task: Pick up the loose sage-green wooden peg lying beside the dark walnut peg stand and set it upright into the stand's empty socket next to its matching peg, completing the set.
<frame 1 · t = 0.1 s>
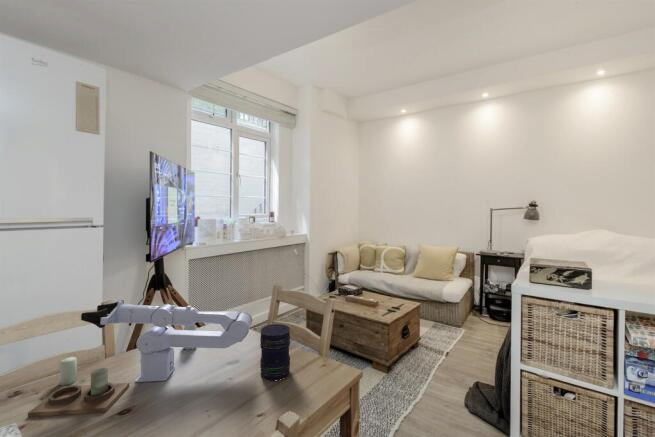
hand: (90, 312, 98), 22 cm above the table, tool horizontal, fingers open, 7 cm apart
peg stand: (82, 400, 87), on the table
salt shaker: (189, 348, 121), on the table
storage jar: (275, 374, 102), on the table
loose peg: (68, 381, 97), on the table
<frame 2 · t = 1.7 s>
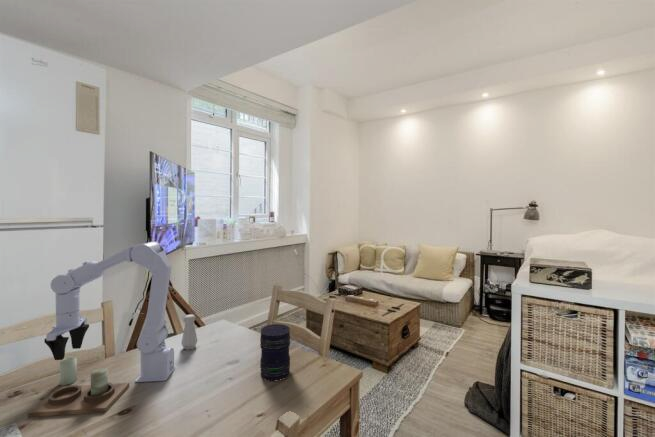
hand: (68, 353, 96), 9 cm above the table, tool pointing down, fingers open, 7 cm apart
nothing on the table moved.
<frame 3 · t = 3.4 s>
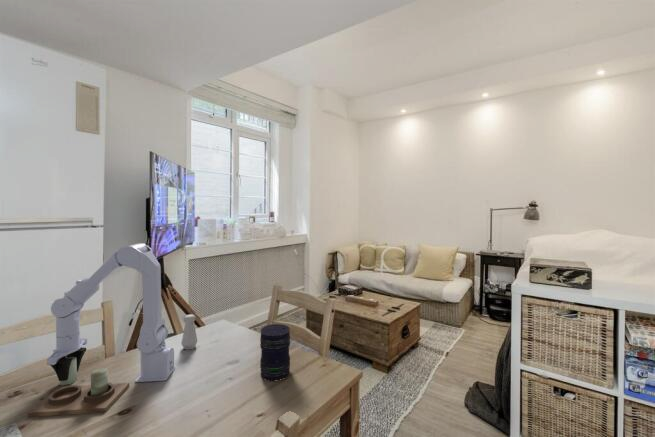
hand: (68, 376, 97), 2 cm above the table, tool pointing down, fingers closed on loose peg, 4 cm apart
loose peg: (68, 381, 97), on the table, touching gripper
everything else where it was.
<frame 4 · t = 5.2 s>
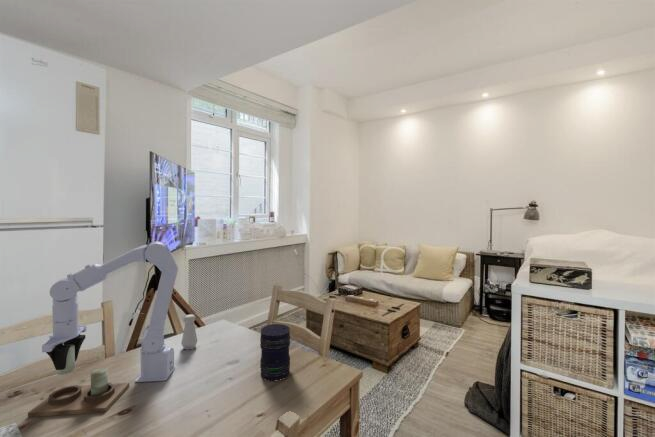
hand: (66, 365, 89), 9 cm above the table, tool pointing down, fingers closed on loose peg, 4 cm apart
loose peg: (66, 371, 89), point 7 cm above the table, touching gripper
everything else where it was.
when the fingers open (4 cm above the table, at t = 7.2 s): loose peg drops 1 cm, resting on peg stand.
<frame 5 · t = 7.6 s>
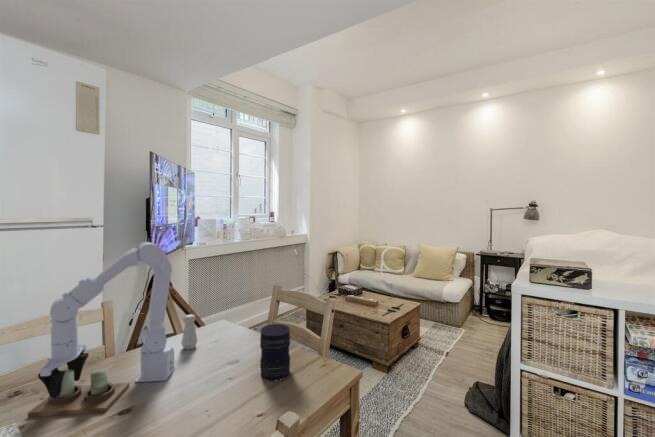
hand: (65, 387, 86), 4 cm above the table, tool pointing down, fingers open, 7 cm apart
loose peg: (65, 397, 86), point 1 cm above the table, touching peg stand
everything else where it was.
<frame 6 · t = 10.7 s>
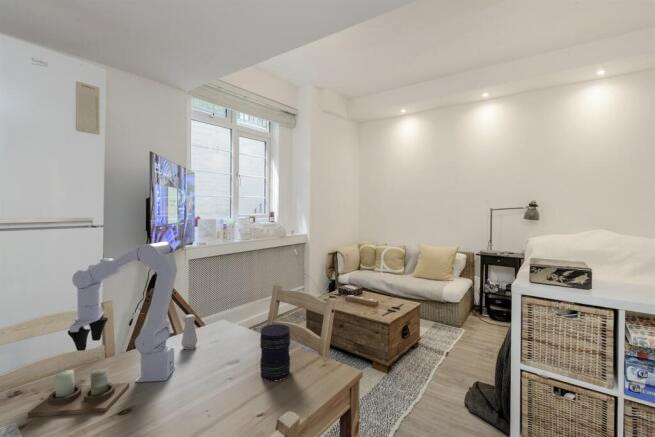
hand: (89, 345, 102), 9 cm above the table, tool pointing down, fingers open, 7 cm apart
nothing on the table moved.
at the end: loose peg 0.1 cm from the target spot on the peg stand, point 1.2 cm above the peg stand's base; loose peg tilted 0°; the gripper is holding nothing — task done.
